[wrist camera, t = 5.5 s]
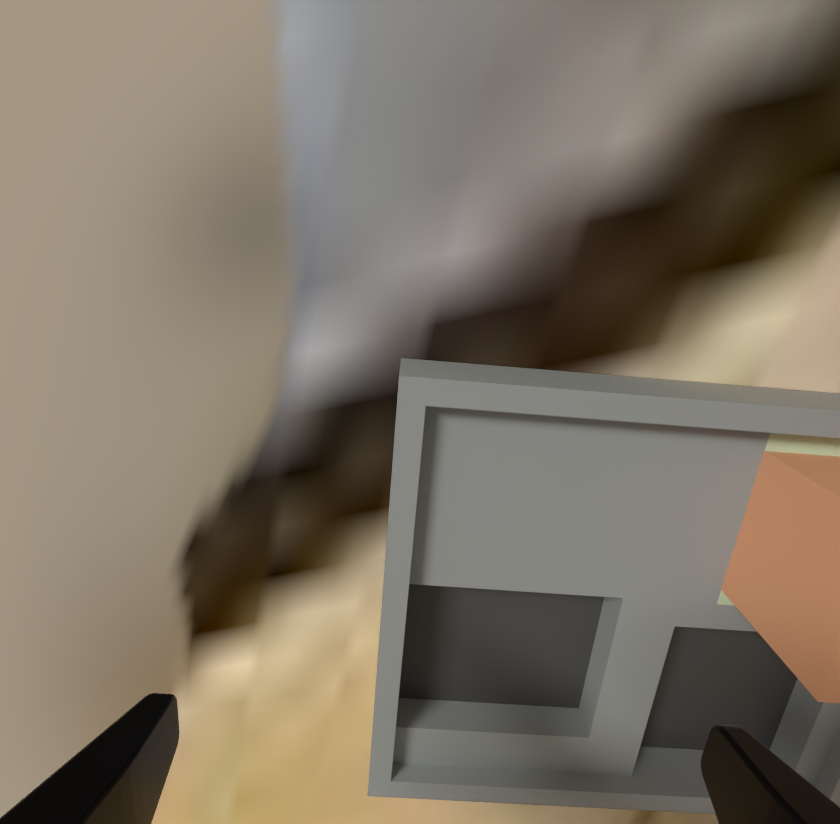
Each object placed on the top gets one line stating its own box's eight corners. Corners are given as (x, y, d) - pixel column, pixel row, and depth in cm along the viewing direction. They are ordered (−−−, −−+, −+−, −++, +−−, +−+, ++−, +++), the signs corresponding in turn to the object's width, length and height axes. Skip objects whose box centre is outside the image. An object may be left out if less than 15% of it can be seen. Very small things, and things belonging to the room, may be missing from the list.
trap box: (954, 402, 17) (1027, 425, 15) (801, 765, 22) (840, 820, 20) (401, 357, 17) (399, 375, 15) (372, 742, 22) (367, 796, 20)
